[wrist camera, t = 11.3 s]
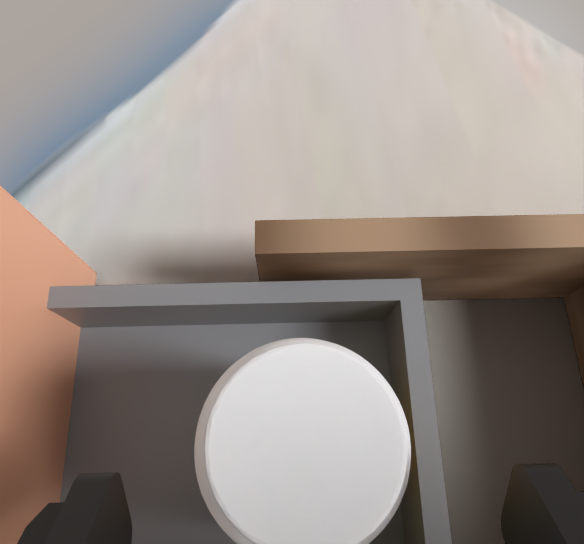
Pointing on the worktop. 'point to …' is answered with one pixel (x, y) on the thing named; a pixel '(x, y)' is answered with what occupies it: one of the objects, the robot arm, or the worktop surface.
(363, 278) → the caddy
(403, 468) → the supplement bottle
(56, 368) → the drawer
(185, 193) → the worktop surface
